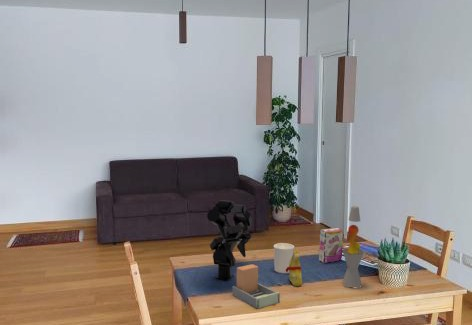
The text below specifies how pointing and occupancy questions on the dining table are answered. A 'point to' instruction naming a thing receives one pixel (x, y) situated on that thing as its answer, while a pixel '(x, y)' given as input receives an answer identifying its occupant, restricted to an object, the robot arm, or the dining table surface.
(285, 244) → the white tapered cylinder
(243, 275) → the terracotta block
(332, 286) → the dining table surface
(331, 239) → the candy bar box
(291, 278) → the chocolate bunny
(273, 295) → the gray open tray
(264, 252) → the dining table surface
